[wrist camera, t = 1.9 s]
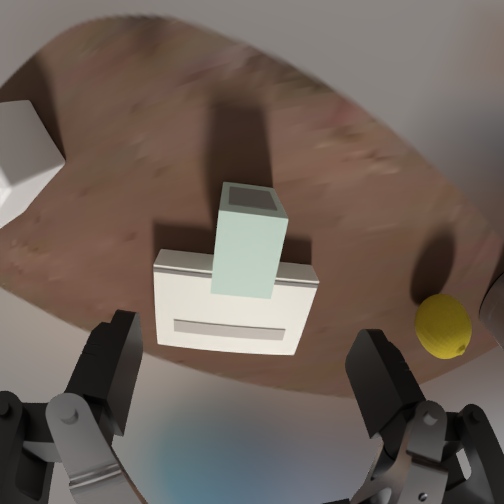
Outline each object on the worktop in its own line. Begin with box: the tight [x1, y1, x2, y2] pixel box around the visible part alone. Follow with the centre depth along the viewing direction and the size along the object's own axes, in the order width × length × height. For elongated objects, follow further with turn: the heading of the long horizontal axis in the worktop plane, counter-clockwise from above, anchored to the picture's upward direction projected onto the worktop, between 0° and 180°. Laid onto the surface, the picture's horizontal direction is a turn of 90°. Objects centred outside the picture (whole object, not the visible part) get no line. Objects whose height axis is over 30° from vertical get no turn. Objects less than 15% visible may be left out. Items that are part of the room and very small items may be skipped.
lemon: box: [415, 294, 472, 359], centre depth 23 cm, size 6×6×8 cm
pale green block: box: [210, 182, 288, 299], centre depth 18 cm, size 4×5×6 cm
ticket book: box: [153, 249, 319, 355], centre depth 23 cm, size 12×8×2 cm, turn 81°
